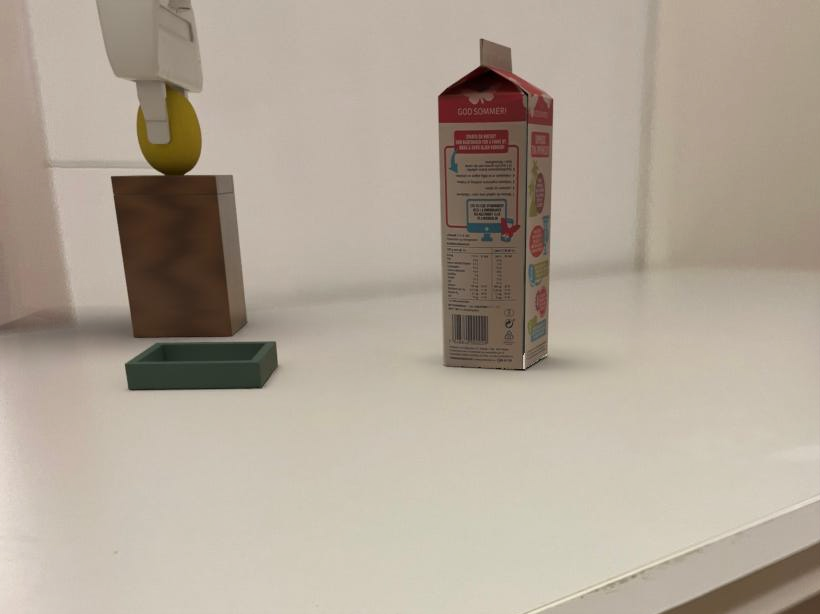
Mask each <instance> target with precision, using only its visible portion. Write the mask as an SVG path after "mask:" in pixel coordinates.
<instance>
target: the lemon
mask: <svg viewBox="0 0 820 614" xmlns="http://www.w3.org/2000/svg"><path fill="white" fill-rule="evenodd" d="M165 88H166V98H165V100H166V107H167V114H168V120H169V121H170V122H171V133H172V142H171V143H170V144H152V143H150V142H149V140H148V135H147V128H146V121H145V118H144V115H143V112H142V109H141V106H140V104H139V105H138V108H137V113H136V136H137V142H138V145H139V149H140V151H141V154H142V156H143V157H144V159H145V161H146V162H147V163H148V164H149V165H150V167H152V168H153V170H155V171H156V172H159V173H160V174H161V175H165V176H183V175H187V173H189V172H191V171H192V170H194V168H195V167H196V166H197V164H198V162H199V160H200V157H201V153H202V147H203V137H202V129H201V124H200V122H199V118H198V115H197V112H196V110H195V108H194V106H193V105H192V103H191V102H190V100H189V98H188V99H187V98H186V97H185V96H183V95H182V94H181V93H179V92H178V91H176V90H174V89H171V88H170V87H169V85H168V84H165ZM188 100H189V101H188Z"/></svg>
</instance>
